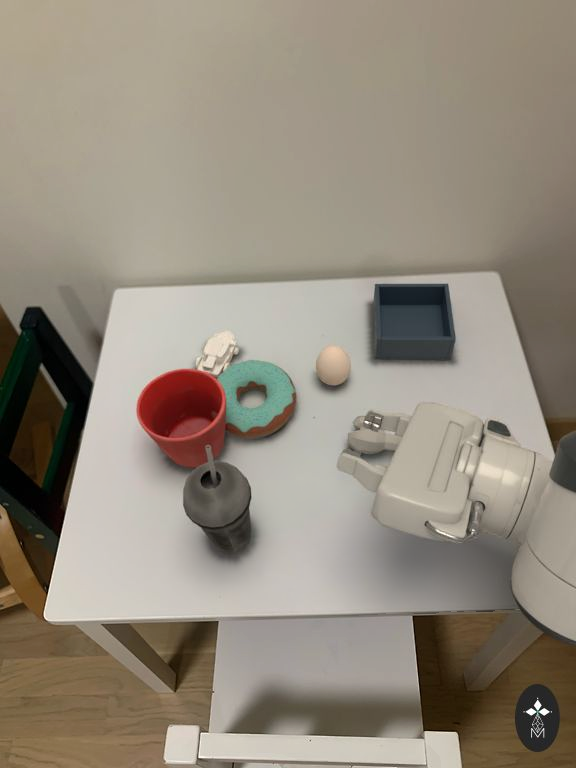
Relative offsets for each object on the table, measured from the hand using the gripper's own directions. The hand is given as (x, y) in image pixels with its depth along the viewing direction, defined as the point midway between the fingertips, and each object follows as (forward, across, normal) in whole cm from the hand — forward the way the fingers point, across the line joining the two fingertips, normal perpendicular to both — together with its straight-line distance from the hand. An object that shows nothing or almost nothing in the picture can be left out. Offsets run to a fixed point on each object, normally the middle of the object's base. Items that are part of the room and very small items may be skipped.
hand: (353, 436), depth 61 cm
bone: (-6, +15, -9) cm, 19 cm away
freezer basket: (+1, +32, +1) cm, 32 cm away
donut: (+17, +15, -10) cm, 24 cm away
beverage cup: (+11, -1, -18) cm, 22 cm away
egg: (+8, +22, -5) cm, 24 cm away
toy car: (+25, +20, -7) cm, 33 cm away
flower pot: (+22, +8, -14) cm, 27 cm away
